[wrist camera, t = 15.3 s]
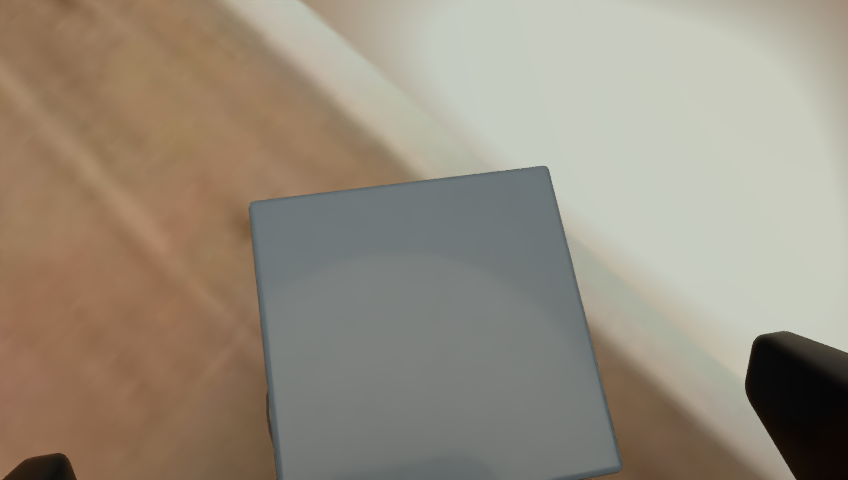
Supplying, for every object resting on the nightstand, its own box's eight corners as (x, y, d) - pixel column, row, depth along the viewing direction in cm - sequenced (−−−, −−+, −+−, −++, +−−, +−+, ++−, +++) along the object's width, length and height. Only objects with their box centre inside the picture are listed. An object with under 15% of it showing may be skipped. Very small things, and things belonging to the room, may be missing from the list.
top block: (502, 471, 15) (627, 472, 8) (314, 506, 14) (281, 538, 7) (466, 291, 16) (549, 162, 9) (292, 317, 15) (246, 199, 9)
